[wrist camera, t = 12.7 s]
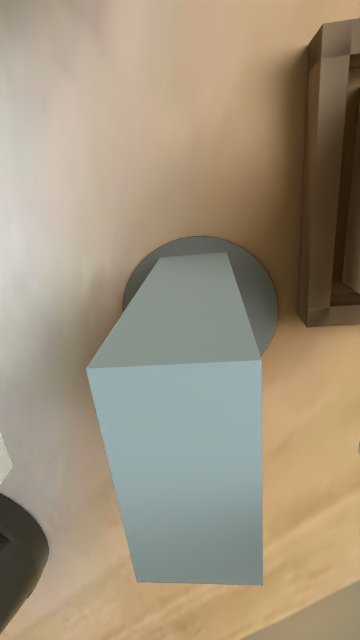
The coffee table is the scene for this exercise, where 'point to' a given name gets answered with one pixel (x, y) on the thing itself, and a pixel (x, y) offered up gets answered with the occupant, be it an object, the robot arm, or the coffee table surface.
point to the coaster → (247, 273)
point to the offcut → (353, 221)
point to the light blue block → (185, 425)
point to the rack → (325, 173)
